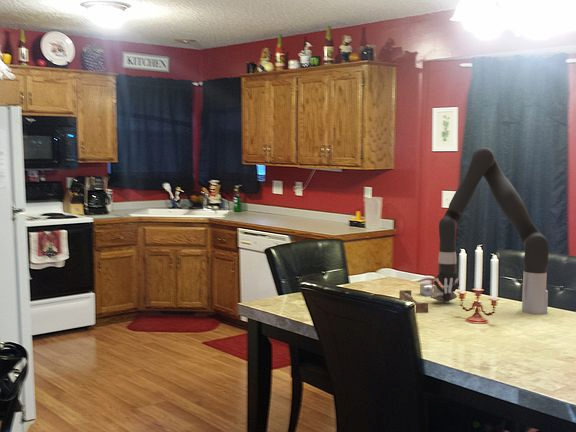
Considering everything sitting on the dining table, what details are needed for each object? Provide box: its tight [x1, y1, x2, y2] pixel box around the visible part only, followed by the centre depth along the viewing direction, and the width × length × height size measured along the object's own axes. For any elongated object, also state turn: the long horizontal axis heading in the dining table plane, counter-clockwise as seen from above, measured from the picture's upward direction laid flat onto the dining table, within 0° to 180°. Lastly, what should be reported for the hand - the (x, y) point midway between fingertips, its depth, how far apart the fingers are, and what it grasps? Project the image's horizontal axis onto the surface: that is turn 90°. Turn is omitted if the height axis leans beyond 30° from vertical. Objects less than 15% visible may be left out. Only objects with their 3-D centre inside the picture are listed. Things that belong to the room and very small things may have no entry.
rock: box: [430, 285, 458, 303], centre depth 297 cm, size 11×6×10 cm
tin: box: [419, 283, 434, 298], centre depth 313 cm, size 6×6×5 cm
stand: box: [398, 289, 429, 314], centre depth 291 cm, size 5×27×5 cm, turn 5°
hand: (446, 301), depth 292 cm, fingers closed
